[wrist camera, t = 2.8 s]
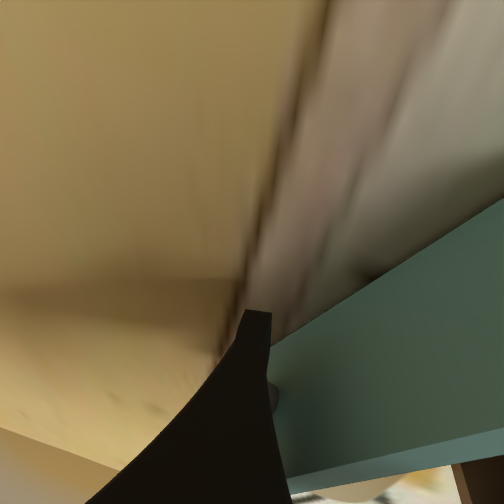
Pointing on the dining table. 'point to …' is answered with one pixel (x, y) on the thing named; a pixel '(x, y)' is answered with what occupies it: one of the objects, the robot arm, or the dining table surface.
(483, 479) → the walnut cabinet
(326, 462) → the teal door
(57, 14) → the dining table surface
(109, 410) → the dining table surface
